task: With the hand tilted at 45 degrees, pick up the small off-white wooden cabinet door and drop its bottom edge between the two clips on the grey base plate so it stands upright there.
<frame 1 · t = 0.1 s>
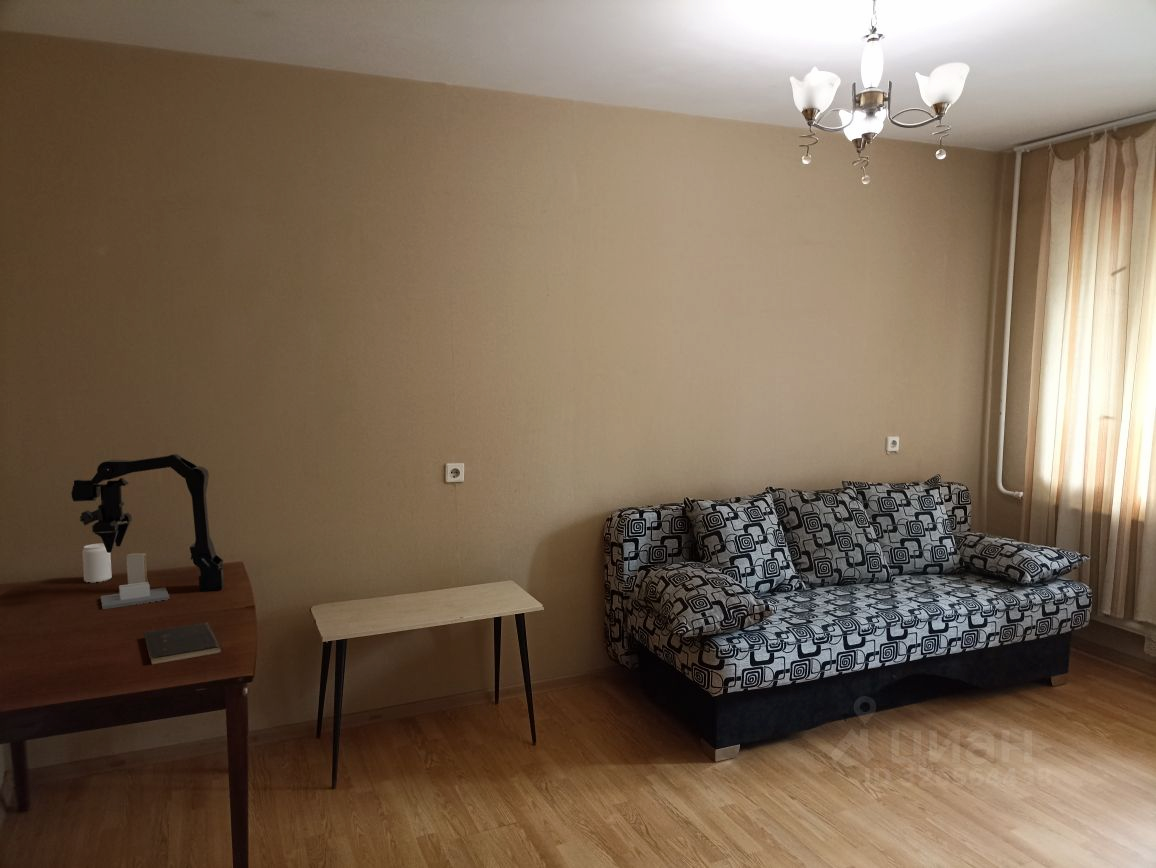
hand: (113, 549, 257), 15 cm above the table, tool pointing down, fingers open, 9 cm apart
grey base plate: (135, 599, 253), on the table
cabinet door: (138, 590, 263), on the table
beverage can: (98, 581, 276), on the table
hardcover book: (182, 648, 210), on the table
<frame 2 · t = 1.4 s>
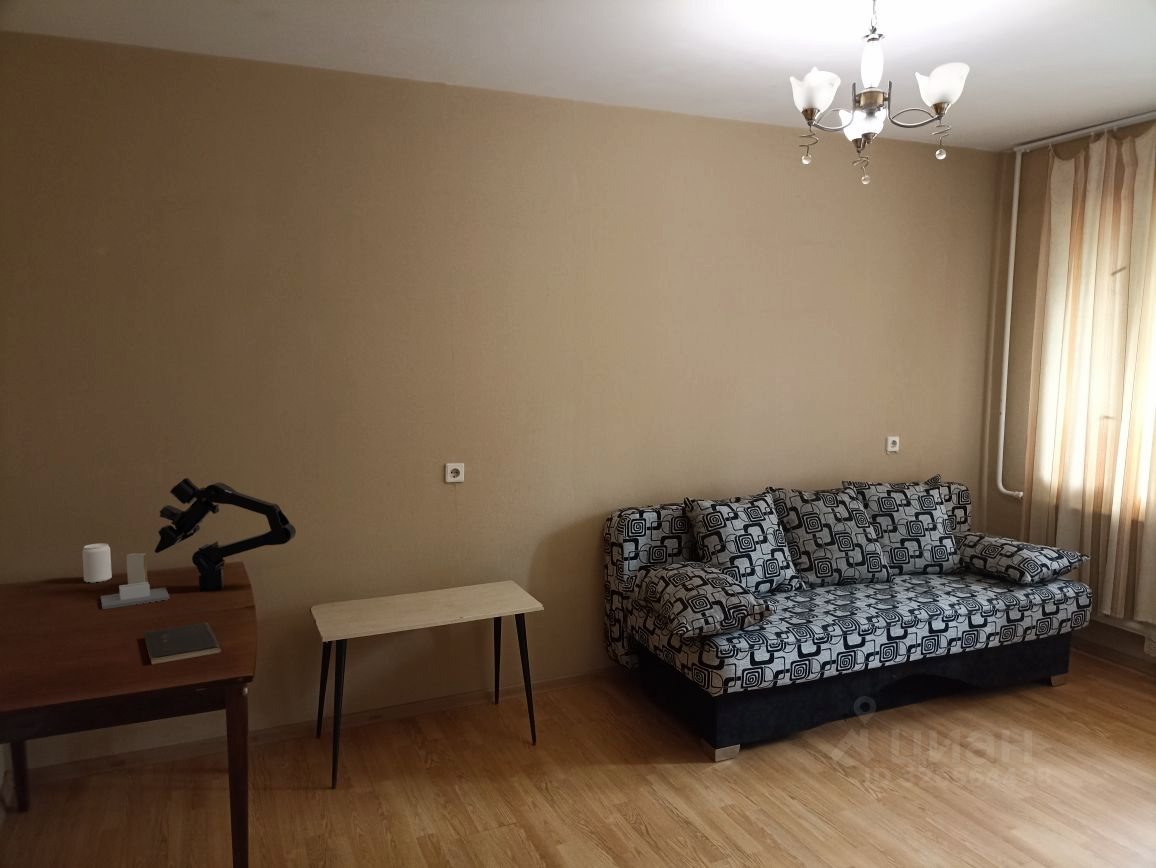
hand: (162, 549, 262), 13 cm above the table, tool tilted 45°, fingers open, 9 cm apart
nothing on the table moved.
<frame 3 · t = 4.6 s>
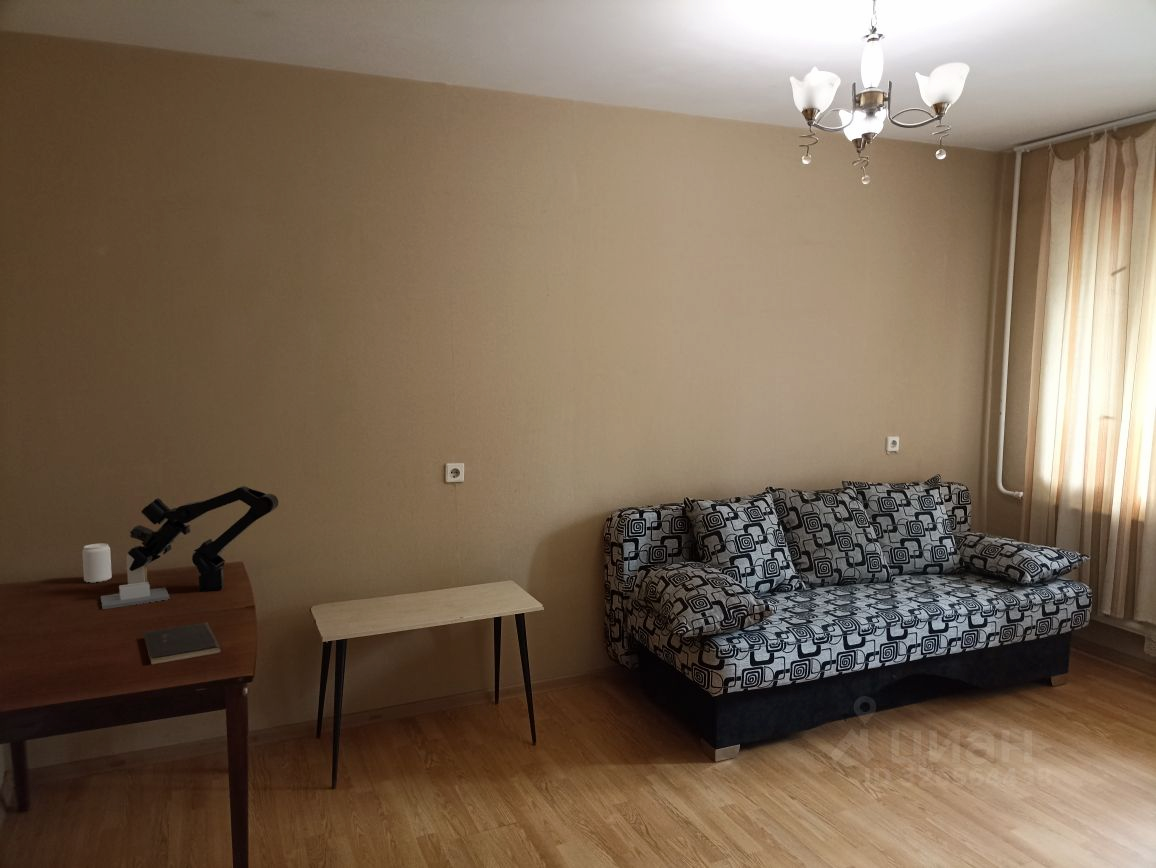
hand: (132, 569, 262), 7 cm above the table, tool tilted 45°, fingers closed on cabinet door, 2 cm apart
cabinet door: (138, 590, 263), on the table, touching gripper
everything else where it was.
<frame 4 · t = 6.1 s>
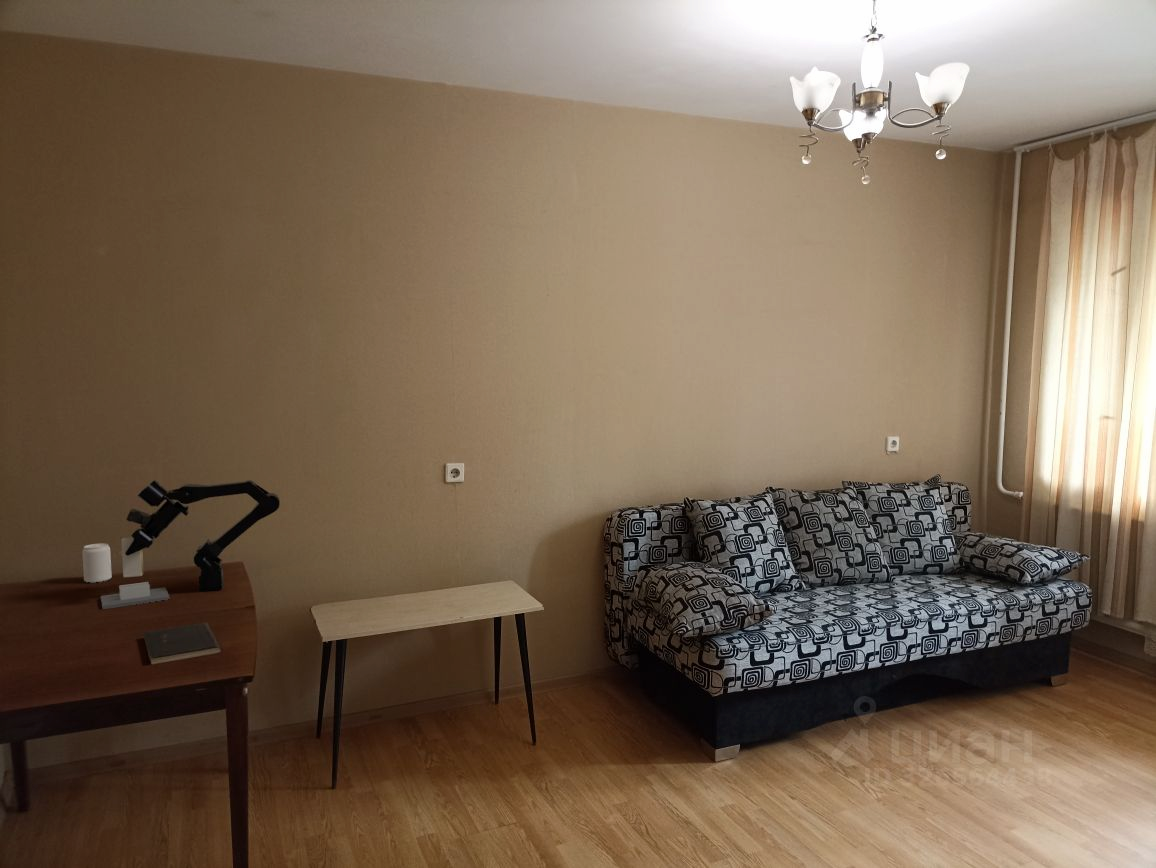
hand: (127, 553, 256), 13 cm above the table, tool tilted 45°, fingers closed on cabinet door, 2 cm apart
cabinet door: (133, 575, 257), point 6 cm above the table, touching gripper
everything else where it was.
when the fingers open (9 cm above the table, at t = 7.7 s): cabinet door drops 1 cm, resting on grey base plate.
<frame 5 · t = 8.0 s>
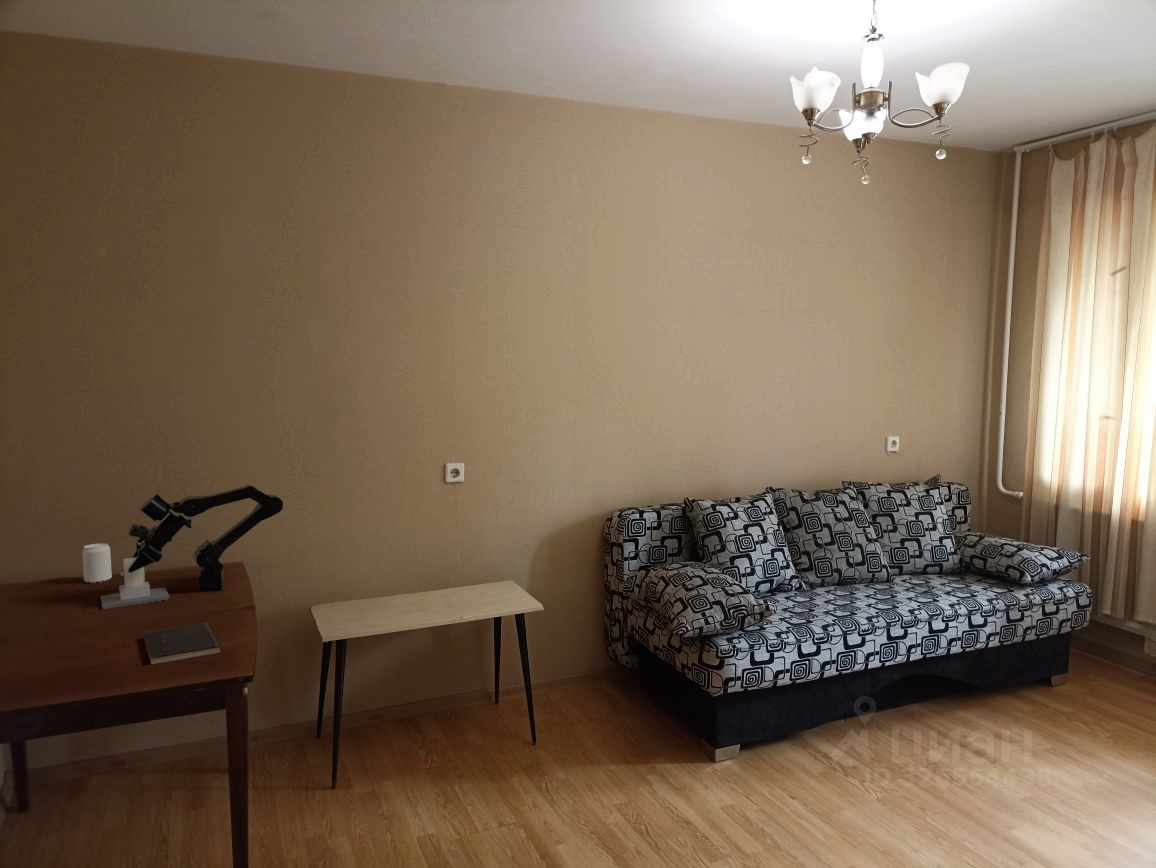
hand: (128, 569, 251), 10 cm above the table, tool tilted 45°, fingers open, 6 cm apart
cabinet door: (134, 596, 253), point 1 cm above the table, touching grey base plate
everything else where it was.
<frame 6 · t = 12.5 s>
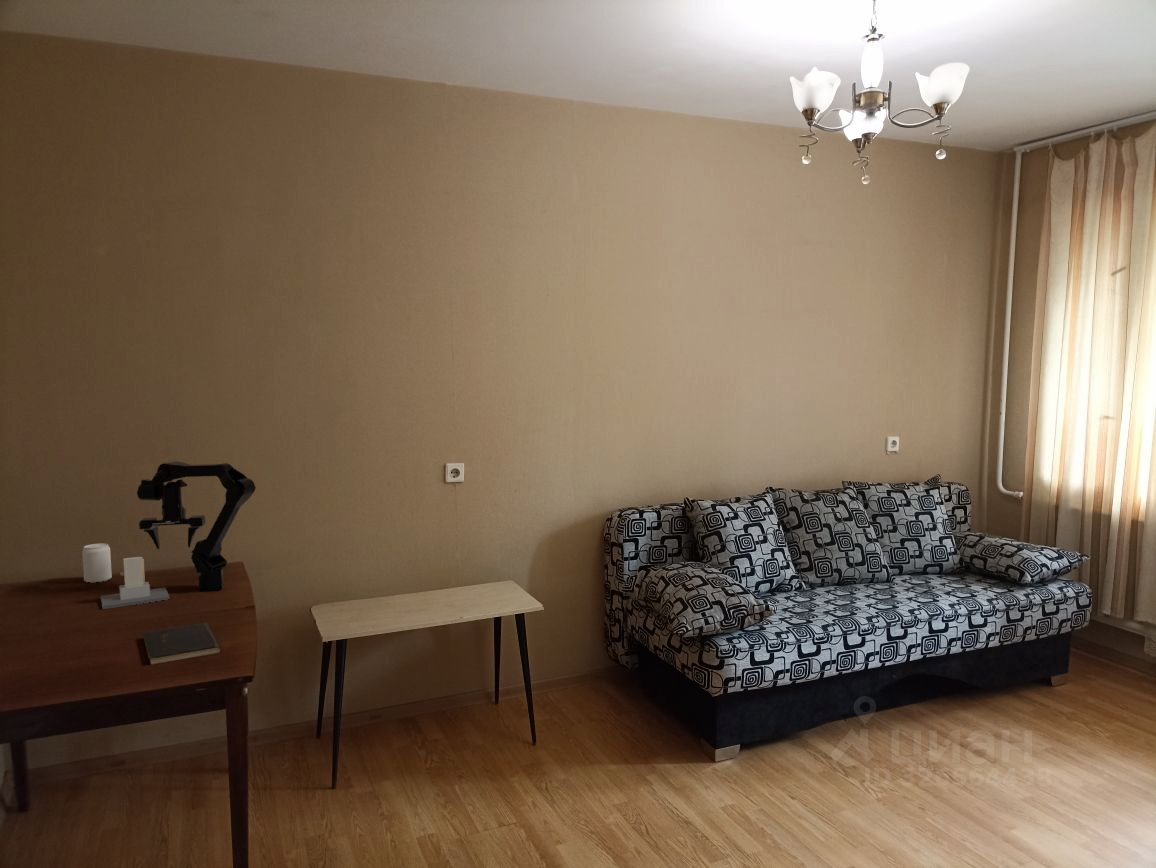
hand: (174, 548, 266), 13 cm above the table, tool pointing down, fingers open, 9 cm apart
nothing on the table moved.
at the end: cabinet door 0.1 cm off-centre on the grey base plate, point 1.0 cm above the grey base plate's base; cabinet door tilted 0°; the gripper is holding nothing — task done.
